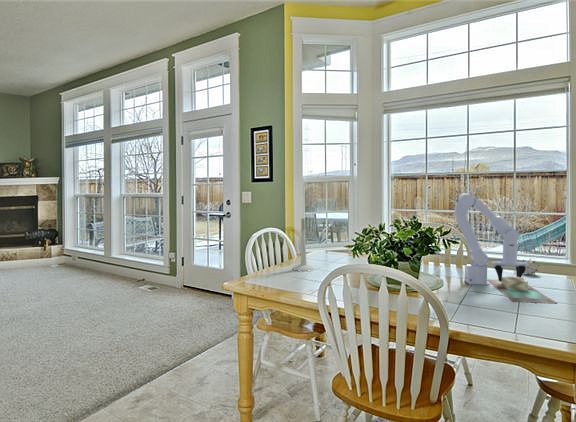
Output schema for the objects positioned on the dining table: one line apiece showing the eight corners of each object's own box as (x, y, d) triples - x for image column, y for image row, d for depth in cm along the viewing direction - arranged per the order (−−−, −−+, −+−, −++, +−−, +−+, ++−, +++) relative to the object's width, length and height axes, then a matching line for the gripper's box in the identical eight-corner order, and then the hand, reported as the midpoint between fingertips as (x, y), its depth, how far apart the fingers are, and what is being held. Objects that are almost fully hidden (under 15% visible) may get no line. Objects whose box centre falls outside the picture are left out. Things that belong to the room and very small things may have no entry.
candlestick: (291, 267, 216) (290, 217, 214) (312, 266, 218) (311, 216, 215) (294, 272, 204) (293, 219, 201) (316, 271, 205) (315, 218, 203)
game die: (533, 282, 188) (545, 269, 182) (516, 276, 189) (527, 263, 183) (530, 270, 195) (541, 258, 188) (514, 264, 196) (525, 252, 190)
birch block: (507, 289, 163) (508, 280, 163) (501, 284, 171) (501, 276, 171) (527, 290, 161) (527, 281, 161) (520, 285, 169) (520, 277, 169)
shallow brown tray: (513, 301, 147) (513, 301, 147) (485, 279, 181) (485, 279, 181) (557, 303, 144) (557, 303, 144) (521, 280, 177) (521, 280, 177)
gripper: (496, 254, 168) (495, 283, 169) (530, 255, 165) (529, 284, 166) (490, 251, 175) (490, 279, 176) (524, 252, 172) (523, 280, 173)
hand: (509, 281), depth 172 cm, fingers open, 7 cm apart
